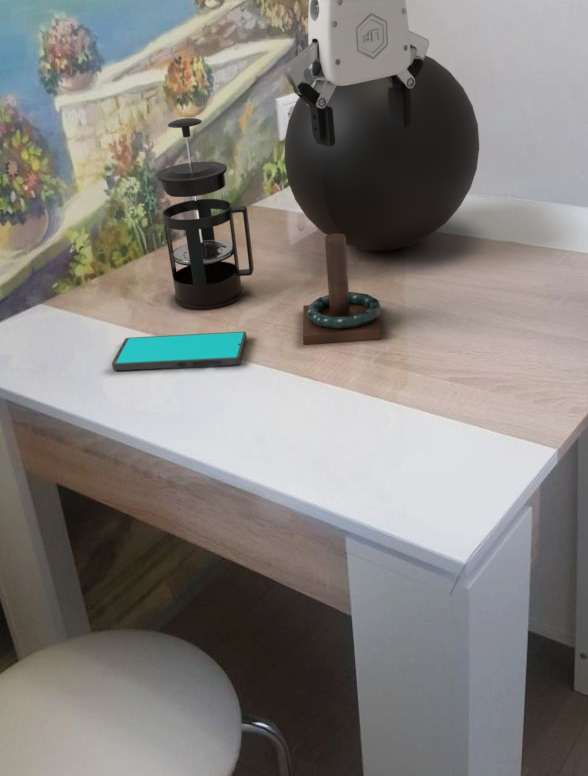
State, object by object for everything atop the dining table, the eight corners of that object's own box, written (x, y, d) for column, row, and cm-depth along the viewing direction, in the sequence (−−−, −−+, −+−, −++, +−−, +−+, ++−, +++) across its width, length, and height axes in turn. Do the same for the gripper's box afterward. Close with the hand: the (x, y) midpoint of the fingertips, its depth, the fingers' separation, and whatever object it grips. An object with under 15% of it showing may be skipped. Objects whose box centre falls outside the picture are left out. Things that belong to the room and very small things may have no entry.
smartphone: (125, 337, 108) (246, 331, 106) (126, 343, 108) (247, 337, 106) (110, 364, 102) (238, 358, 100) (112, 371, 102) (239, 365, 100)
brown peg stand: (375, 309, 110) (372, 221, 104) (380, 339, 103) (376, 246, 97) (304, 314, 111) (296, 227, 105) (303, 344, 103) (295, 253, 98)
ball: (475, 212, 138) (479, 24, 124) (479, 276, 116) (485, 55, 102) (306, 220, 144) (291, 40, 130) (279, 282, 121) (258, 73, 107)
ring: (378, 298, 110) (377, 288, 109) (383, 327, 102) (383, 316, 102) (307, 304, 111) (306, 293, 110) (308, 333, 103) (307, 322, 102)
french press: (163, 311, 116) (132, 131, 104) (177, 285, 124) (150, 115, 112) (251, 307, 115) (229, 124, 103) (259, 281, 122) (241, 107, 110)
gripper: (294, -30, 82) (311, 157, 91) (445, -55, 88) (448, 123, 97) (258, -29, 88) (278, 147, 97) (402, -52, 94) (408, 115, 103)
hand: (363, 135), depth 97 cm, fingers open, 9 cm apart
